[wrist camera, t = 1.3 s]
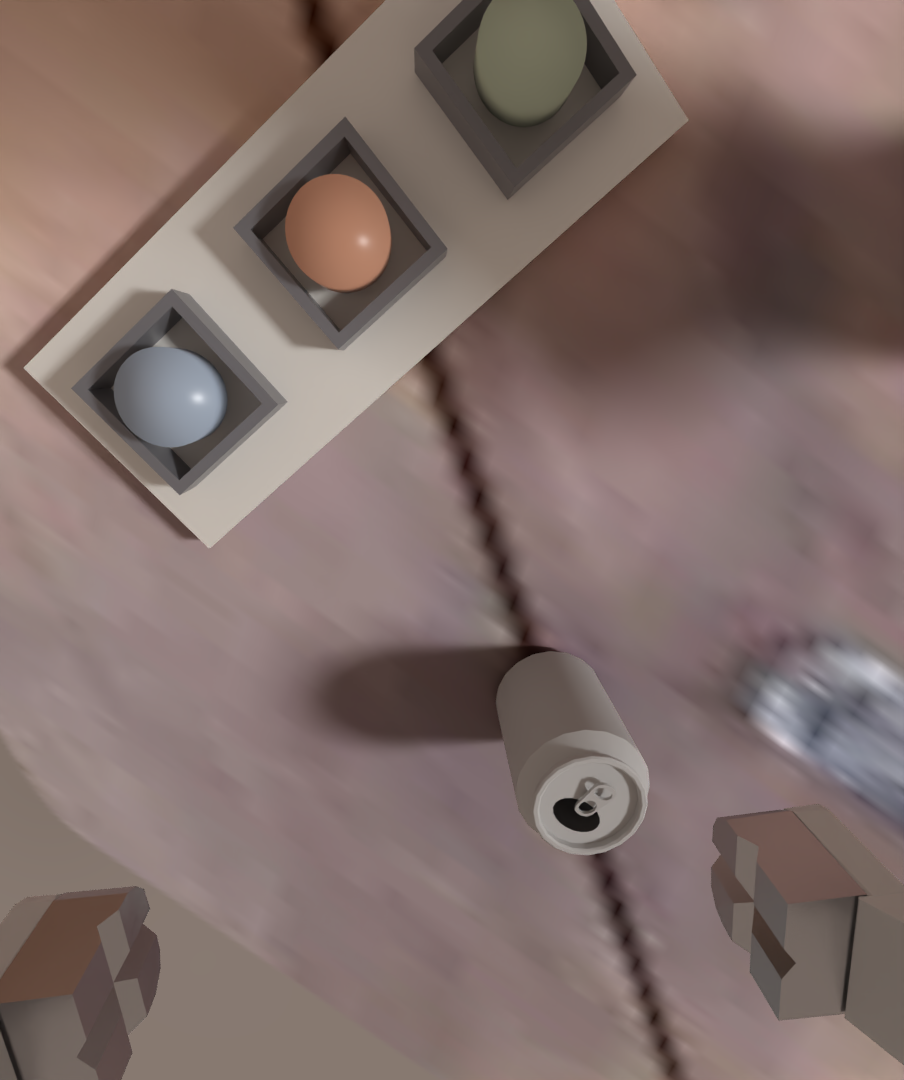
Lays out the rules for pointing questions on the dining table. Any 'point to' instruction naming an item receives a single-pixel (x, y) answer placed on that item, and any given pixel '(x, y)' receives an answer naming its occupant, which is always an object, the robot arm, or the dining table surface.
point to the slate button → (170, 396)
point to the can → (570, 755)
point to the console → (415, 262)
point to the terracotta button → (338, 233)
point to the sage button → (528, 58)
